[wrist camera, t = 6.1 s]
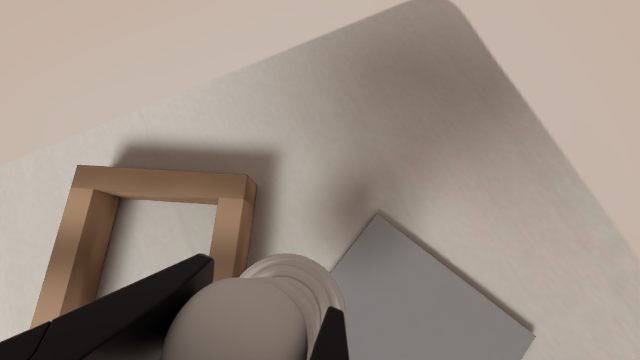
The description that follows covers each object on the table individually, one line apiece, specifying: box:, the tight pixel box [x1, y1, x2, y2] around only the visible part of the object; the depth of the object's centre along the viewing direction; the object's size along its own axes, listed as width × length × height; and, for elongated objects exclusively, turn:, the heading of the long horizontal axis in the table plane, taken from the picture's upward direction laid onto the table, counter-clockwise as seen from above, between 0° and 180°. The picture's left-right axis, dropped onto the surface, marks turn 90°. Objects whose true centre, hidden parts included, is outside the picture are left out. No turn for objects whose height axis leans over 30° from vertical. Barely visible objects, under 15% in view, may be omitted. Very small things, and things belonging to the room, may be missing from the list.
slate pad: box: [330, 214, 536, 360], centre depth 19 cm, size 11×11×1 cm
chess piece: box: [160, 254, 347, 360], centre depth 11 cm, size 5×5×9 cm
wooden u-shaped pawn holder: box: [30, 165, 257, 329], centre depth 20 cm, size 10×11×2 cm
